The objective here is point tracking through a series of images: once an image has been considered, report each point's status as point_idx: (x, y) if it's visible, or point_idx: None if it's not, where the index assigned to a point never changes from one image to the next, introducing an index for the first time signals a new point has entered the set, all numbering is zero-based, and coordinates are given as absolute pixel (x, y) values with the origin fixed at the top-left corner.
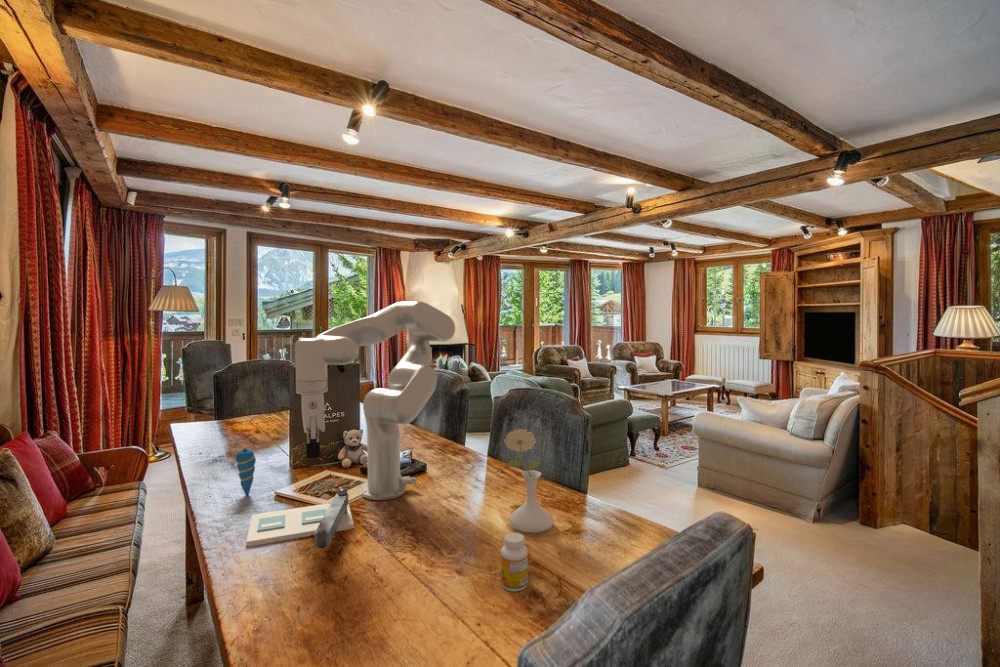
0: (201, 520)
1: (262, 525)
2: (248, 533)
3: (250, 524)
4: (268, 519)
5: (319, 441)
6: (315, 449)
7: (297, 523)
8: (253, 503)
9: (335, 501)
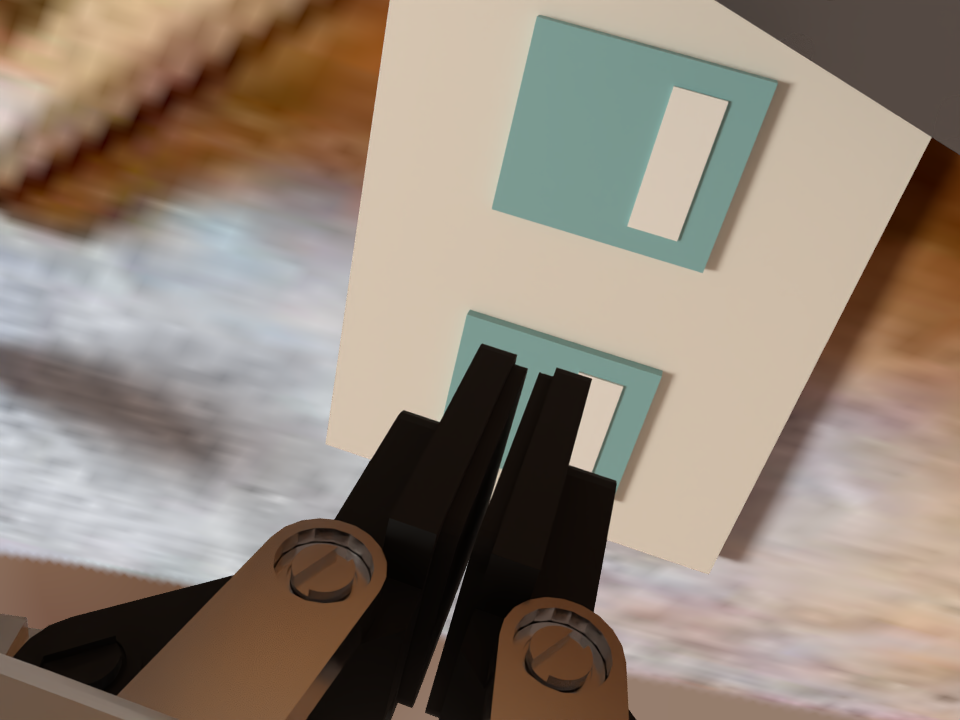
0: None
1: None
2: None
3: None
4: None
5: (496, 558)
6: (603, 556)
7: (655, 285)
8: (92, 355)
9: (899, 63)
